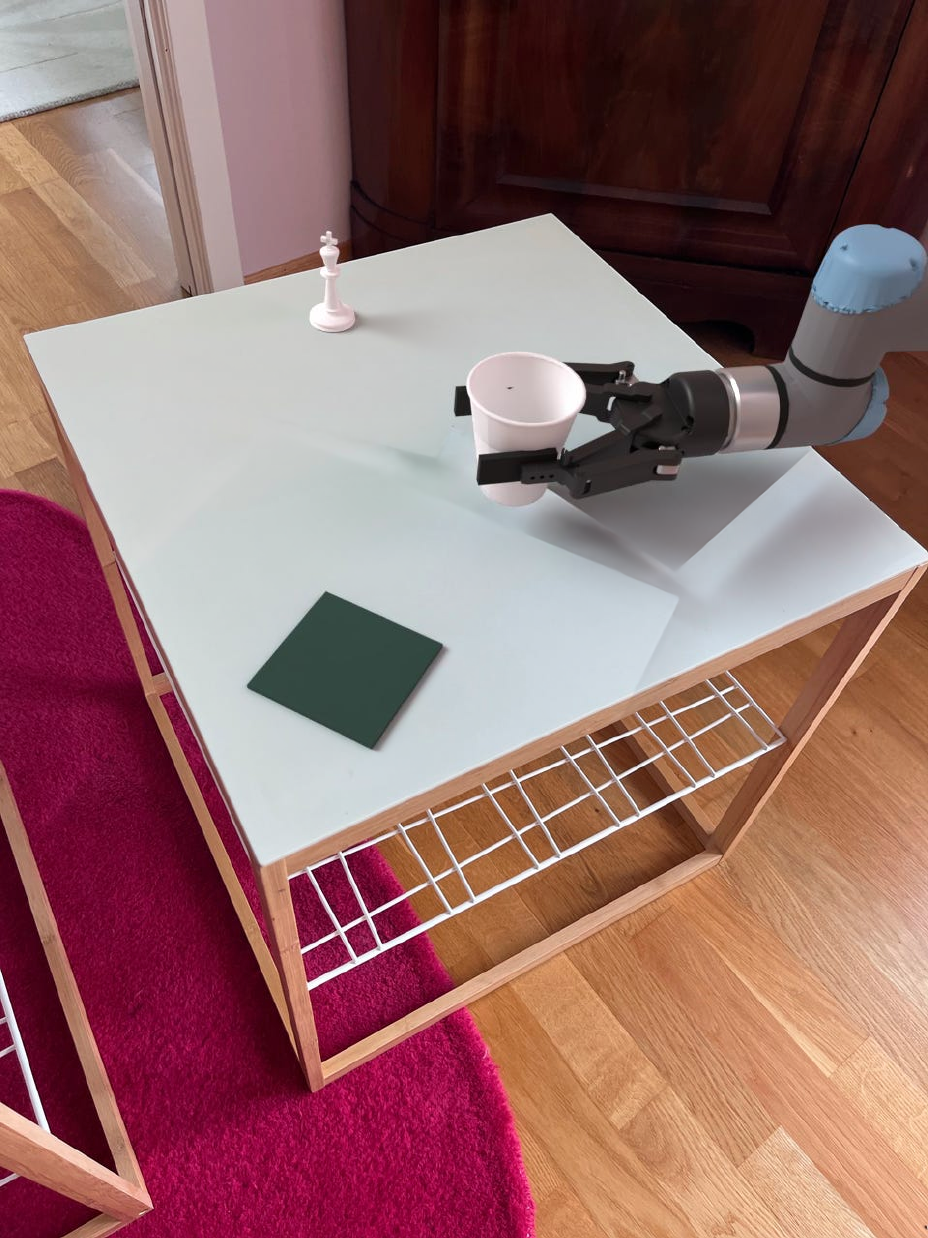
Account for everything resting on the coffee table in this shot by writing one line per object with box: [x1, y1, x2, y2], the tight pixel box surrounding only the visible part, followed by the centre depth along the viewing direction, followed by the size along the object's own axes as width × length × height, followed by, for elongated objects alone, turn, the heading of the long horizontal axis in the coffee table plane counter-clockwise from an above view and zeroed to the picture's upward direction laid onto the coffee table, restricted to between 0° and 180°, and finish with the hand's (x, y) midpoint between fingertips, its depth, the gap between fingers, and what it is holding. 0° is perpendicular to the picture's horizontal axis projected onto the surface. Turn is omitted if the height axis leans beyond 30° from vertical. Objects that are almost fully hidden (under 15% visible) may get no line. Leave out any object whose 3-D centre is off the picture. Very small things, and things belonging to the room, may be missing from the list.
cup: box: [465, 351, 586, 508], centre depth 82 cm, size 10×10×11 cm
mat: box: [246, 590, 444, 750], centre depth 74 cm, size 11×11×1 cm
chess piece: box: [309, 230, 356, 333], centre depth 99 cm, size 5×5×10 cm
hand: (466, 434), depth 80 cm, fingers closed on cup, 8 cm apart
